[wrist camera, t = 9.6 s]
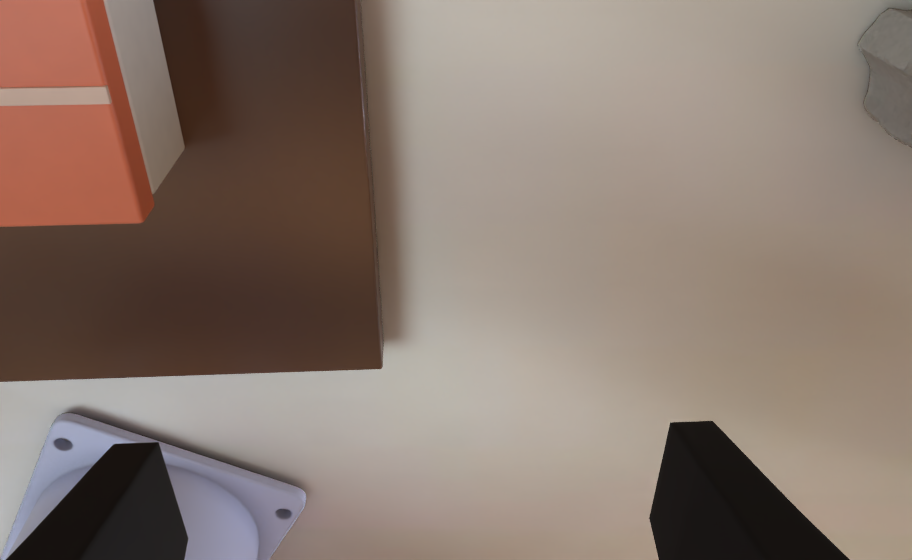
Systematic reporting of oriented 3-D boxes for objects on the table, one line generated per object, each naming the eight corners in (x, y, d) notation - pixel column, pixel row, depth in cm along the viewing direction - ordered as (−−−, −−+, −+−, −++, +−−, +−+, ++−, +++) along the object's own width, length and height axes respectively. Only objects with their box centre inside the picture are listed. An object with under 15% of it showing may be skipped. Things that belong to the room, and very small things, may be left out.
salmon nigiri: (188, 157, 16) (142, 226, 13) (6, 161, 16) (-79, 232, 13) (100, -251, 12) (10, -271, 9) (-145, -253, 12) (-310, -273, 9)
